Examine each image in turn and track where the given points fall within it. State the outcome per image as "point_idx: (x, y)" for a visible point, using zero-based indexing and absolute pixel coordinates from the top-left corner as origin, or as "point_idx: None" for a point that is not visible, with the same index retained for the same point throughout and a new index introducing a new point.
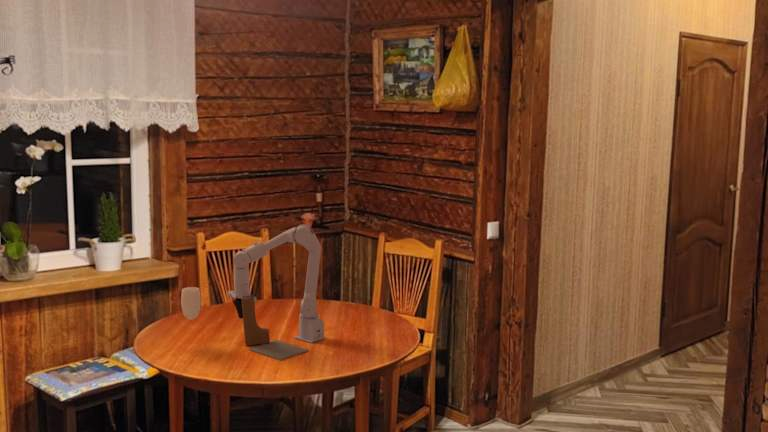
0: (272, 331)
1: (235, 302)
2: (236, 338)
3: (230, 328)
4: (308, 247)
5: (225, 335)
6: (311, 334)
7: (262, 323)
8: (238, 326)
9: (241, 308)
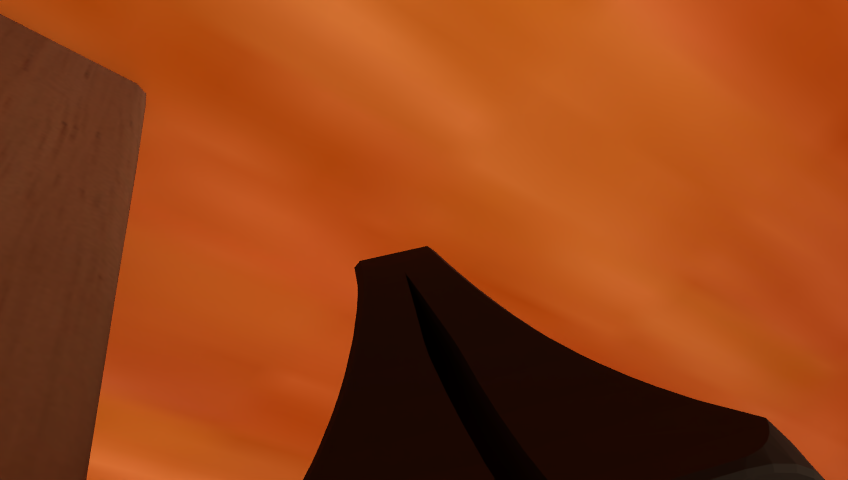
0: None
1: (596, 475)
2: (391, 67)
3: (740, 192)
4: None
5: (596, 12)
6: None
7: None
8: (720, 283)
9: (331, 439)
